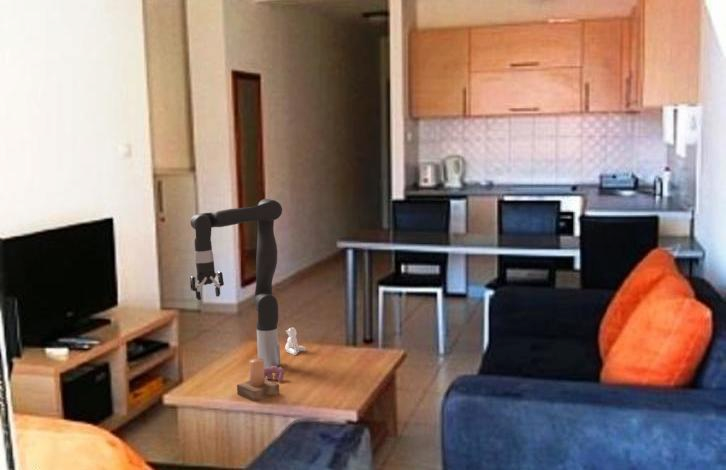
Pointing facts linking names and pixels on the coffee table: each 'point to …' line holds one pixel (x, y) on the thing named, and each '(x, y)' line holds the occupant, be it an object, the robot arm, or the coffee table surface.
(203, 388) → the coffee table surface
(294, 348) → the seated beast figurine
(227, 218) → the robot arm
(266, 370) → the pink gamepad
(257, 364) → the peach orange capsule
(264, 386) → the walnut block
